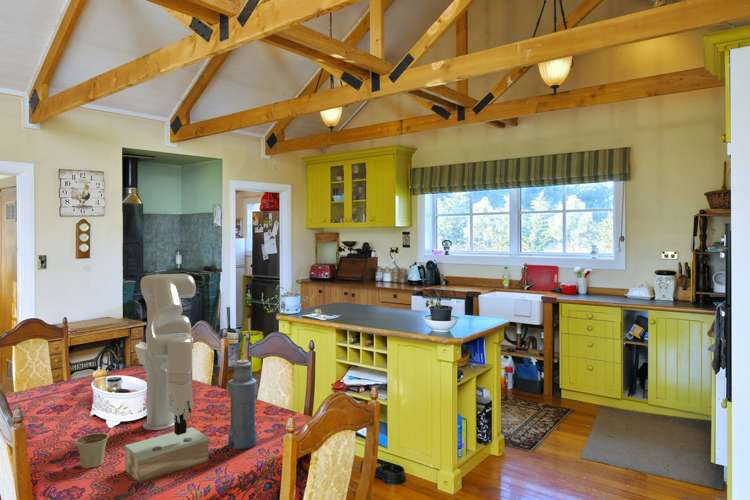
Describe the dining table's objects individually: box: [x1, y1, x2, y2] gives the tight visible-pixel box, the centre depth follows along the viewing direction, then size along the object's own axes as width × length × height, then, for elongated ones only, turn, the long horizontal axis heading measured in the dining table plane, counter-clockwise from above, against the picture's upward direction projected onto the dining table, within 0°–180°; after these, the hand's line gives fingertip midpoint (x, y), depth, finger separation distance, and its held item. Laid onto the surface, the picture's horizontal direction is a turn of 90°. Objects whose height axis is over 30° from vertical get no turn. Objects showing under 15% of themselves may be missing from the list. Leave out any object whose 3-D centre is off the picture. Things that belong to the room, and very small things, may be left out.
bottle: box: [227, 359, 258, 450], centre depth 182 cm, size 10×10×30 cm
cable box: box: [124, 440, 210, 484], centre depth 166 cm, size 12×22×7 cm, turn 135°
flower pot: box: [74, 432, 110, 469], centre depth 167 cm, size 9×9×9 cm
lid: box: [124, 427, 210, 460], centre depth 165 cm, size 12×22×1 cm, turn 135°
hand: (180, 433), depth 165 cm, fingers closed
